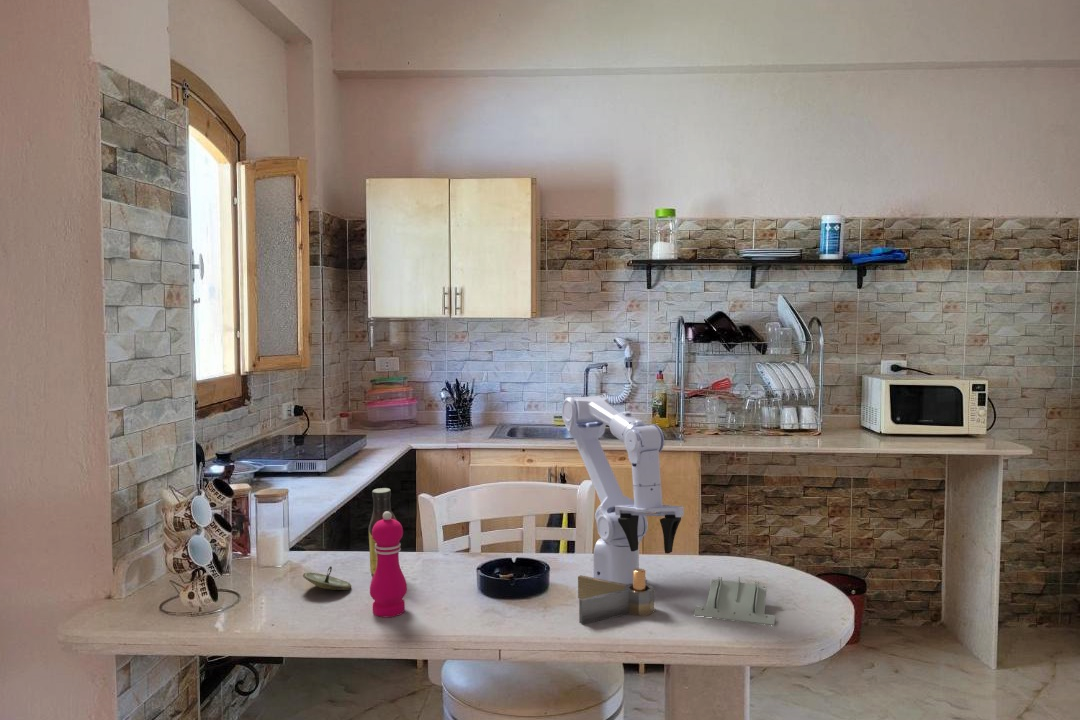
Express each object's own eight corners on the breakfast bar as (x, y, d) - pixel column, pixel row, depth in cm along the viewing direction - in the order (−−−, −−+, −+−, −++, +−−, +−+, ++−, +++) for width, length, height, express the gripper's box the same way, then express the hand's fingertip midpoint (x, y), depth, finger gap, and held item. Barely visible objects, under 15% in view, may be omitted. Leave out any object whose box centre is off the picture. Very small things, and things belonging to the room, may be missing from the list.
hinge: (549, 616, 155) (549, 593, 155) (585, 593, 168) (585, 572, 168) (625, 634, 147) (625, 610, 147) (657, 608, 159) (657, 586, 159)
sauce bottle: (385, 571, 182) (384, 484, 181) (405, 576, 178) (403, 488, 177) (363, 579, 177) (361, 490, 175) (383, 585, 173) (381, 494, 172)
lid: (294, 589, 171) (293, 566, 171) (336, 578, 178) (336, 556, 177) (317, 603, 163) (316, 579, 163) (360, 591, 170) (360, 568, 169)
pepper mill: (413, 606, 161) (412, 508, 159) (395, 620, 154) (394, 517, 152) (382, 602, 163) (380, 505, 162) (363, 615, 156) (361, 514, 155)
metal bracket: (702, 568, 167) (777, 576, 162) (703, 592, 169) (777, 600, 164) (692, 612, 154) (773, 621, 149) (693, 636, 156) (773, 647, 151)
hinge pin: (630, 611, 158) (631, 571, 158) (636, 607, 160) (636, 567, 160) (642, 613, 157) (642, 573, 156) (647, 609, 159) (647, 569, 158)
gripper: (606, 486, 165) (610, 553, 165) (671, 487, 157) (676, 557, 157) (622, 482, 171) (626, 546, 170) (685, 483, 163) (690, 550, 163)
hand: (651, 551), depth 164 cm, fingers open, 7 cm apart
